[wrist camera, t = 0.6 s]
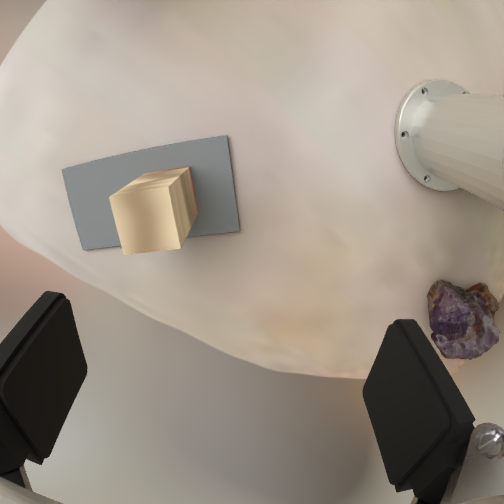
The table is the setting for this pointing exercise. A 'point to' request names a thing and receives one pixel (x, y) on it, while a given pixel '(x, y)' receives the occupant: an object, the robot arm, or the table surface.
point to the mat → (147, 161)
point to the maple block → (155, 211)
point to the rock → (462, 319)
